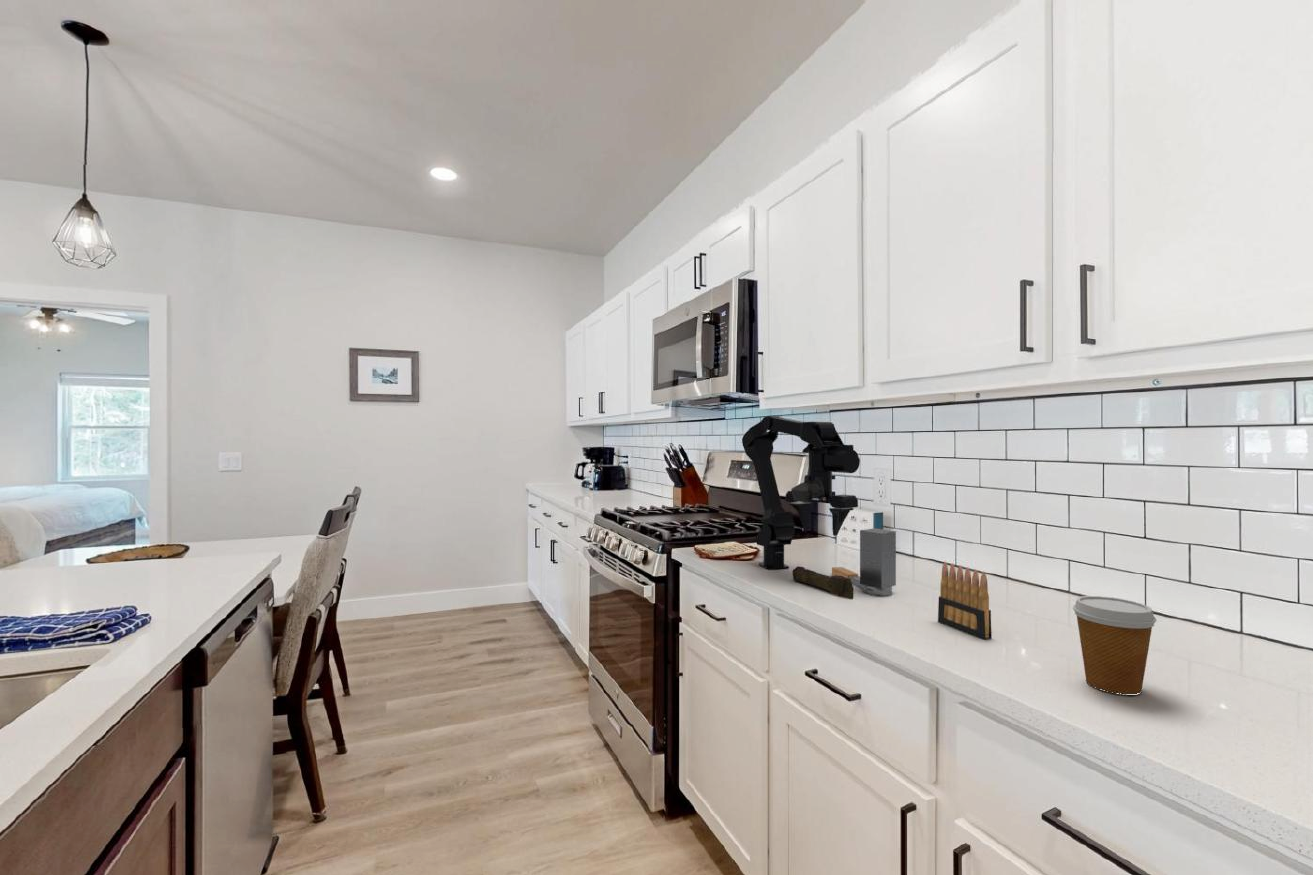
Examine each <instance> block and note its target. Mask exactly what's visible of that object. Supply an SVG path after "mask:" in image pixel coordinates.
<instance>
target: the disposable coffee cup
mask: <svg viewBox="0 0 1313 875" xmlns="http://www.w3.org/2000/svg"><path fill="white" fill-rule="evenodd" d="M1072 609H1073V611H1074V613H1075V615H1076V619H1077V627H1078V634H1079V642H1080V648H1081V654H1082V660H1083V666H1084V675H1085V681H1087V682H1088V683H1089V684H1090V685H1092V686H1094V687H1096V688H1098V689H1097V690H1099V689H1102V690H1105V691H1108V692H1113V693H1119V694H1120V693H1121V694H1137V693H1140V692H1141V691H1143V690H1142V689H1143V685H1144V684H1143V683H1144V678H1145V672H1146V668H1147V667H1146V666H1147V661H1148V660H1147V659H1148V655H1149V648H1150V641H1151V637H1152V636H1151V635H1152V630H1153V627H1154V626H1155V623H1156V622H1157V621H1158V620H1157V617H1156V616H1155V615H1154V612H1153V609H1152V607H1150V606H1148V605H1146V604H1143V603H1140V602H1136V601H1133V600H1128V599H1124V598H1117V597H1111V596H1110V597H1109V596H1103V595H1102V596H1101V595H1100V596H1099V595H1082V596H1079V597H1077V598H1076V600H1075V604H1074V605H1073V606H1072ZM1087 682H1086V683H1087ZM1088 683H1087V684H1088ZM1089 684H1088V685H1089ZM1090 685H1089V686H1090ZM1092 686H1091V687H1092ZM1094 687H1093V688H1094ZM1096 688H1095V689H1096ZM1108 692H1107V693H1108ZM1141 693H1142V692H1141Z"/></svg>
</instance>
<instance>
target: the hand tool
mask: <svg viewBox="0 0 1313 875" xmlns="http://www.w3.org/2000/svg"><path fill="white" fill-rule="evenodd" d="M792 580H793V581H794V582H798V583H803V584H808V585H810V586H813V587H816V588H820V589H822V590H826V591H828V592H830V593H831V595H833V594H834V595H833V596H836V595H838V596H837V597H840V596H841V598H844V599H845V598H846V599H851V600H852V599H854V594H855V593H854V592H855V591H854V584H852V582H851V579H849V578H845V577H843V576H838V575H834V576H833V575H831V576H830V575H826V574H824V573H819V572H816V571H814V570H810V569H807V568H805V567H804V566H796V567H795V568H794V569H792Z"/></svg>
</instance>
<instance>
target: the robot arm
mask: <svg viewBox="0 0 1313 875" xmlns="http://www.w3.org/2000/svg"><path fill="white" fill-rule="evenodd" d="M779 433H782V434H787V435H791V436H796V437H798V438H800V439H799V440H801V441H803V442H804V443H806V444H807V446H806V447H804V448H803V449H802V453H803V454H808V474H805V475H804V480H803V482H801V483H799V484H797V485H795V486H793V487H792V488H791V489H790V490H788V491H787V492H786V494H785V503H788V505H789V506H791V507H792V508H794V509H795V510H796V513H797V515H798V517H799V521H800V523H801V526H802V528H803V531H805V532H806V531H807V532H808V531H809V527H810V522H811V521H810V520H811V514H812V507H813V503H822V504H829V505H830V506H831V508H829V507H828V509H829V512H830V513H831V517H832V518H831V521H832V524H831V525H832V528H831V530H832V535H833V536H834V537H836V536H838V534H839V532H840V530H841V528H842V526H843V524H844V523H845V520H846V518H847V517H848V515H849V514H850V512H851V511H854V508H858V507H859V500H858V497H856V495H852V494H844V493H843V494H836V491H833V480H836V475H835V474H834V475H833V473H839V474H840V473H843V474H854V473H856V472H857V471H858V470H859V467H860V464H861V459H860V456H859V454H858V452H857V451H856V450H854V445H853V444H845V443H844V441H843V440H842V438H841V437H840V435H839V433H838V431H837V430H836V426H835V424H834V423H833V422H831V421H800V420H796V419H795V420H794V419H791V418H790V419H789V418H785V417H780V415H767V416H764V417H762V419H761V420H760V421H759V422H757V423H756V424H754V425H753V426H751V427H749V428H748V430H747V431H746V432H745V433H744V435H743V436H742V439H741V444H742V448H743V450H744V453H745V454H746V456H747V457H748V458H749V460H751V461H752V463H753V467H754V472H755V475H756V480H757V483H758V488H759V493H760V496H761V501H762V503H763V510H764V511H763V515H762V518H761V527H762V528H761V529H760V531H759V532H758V533H757V535H756V536H755V542H756V545H758V546H762V548H763V551H762V552H763V554H762V555H763V557H762V558H763V559H762V560H763V562H759V563H758V565H759V566H761V567H763V568H765V569H766V570H777V569H778V570H779V569H780V570H782V569H789V568H790V565H787V564H785V545H787V546H788V545H789V546H790V545H792V542H793V537H794V535H795V531H796V530H795V526H796V523H795V522H794V517H793V513H792V511H791V510H789V511H786V510H785V508H784V507H783V505H782V499H781V496H780V492H779V489H778V485H777V480H776V476H775V473H774V472H775V471H774V466H773V464H772V455H773V451H774V445H773V444H774V442H775V441H777V439H778V437H779ZM812 502H813V503H812Z"/></svg>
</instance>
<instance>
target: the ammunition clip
mask: <svg viewBox="0 0 1313 875" xmlns="http://www.w3.org/2000/svg"><path fill="white" fill-rule="evenodd" d="M988 585H989V584H988V578H987V575H986V571H982V572H981V576H980V577H979V572H978V570H977V569H976V568H975V569H974V570H973V573H972V574H971V571H970V568H969V566H968V567H966V568H965V570H964V571H963V568H962V565H959V566H958V568H957V571H956V568H955V565H954V563H951V564H950V567H949V566H948V563H947V562H946V561H944V562H943V564H942V568H941V580H940V590H939V591H940V595H939V596H938V603H937V604H938V606H937V612H938V613H937V622H938V623H939V624H941V625H944V626H947V627H950V628H952V629H955V630H958V631H959V632H963V633H965V634H967V635H970V636H973V637H975V638H978V639H981V640H983V641H985V640H990V639H992V636H993V635H992V633H993V632H992V611H991V609H990V595H989V588H988Z"/></svg>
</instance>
